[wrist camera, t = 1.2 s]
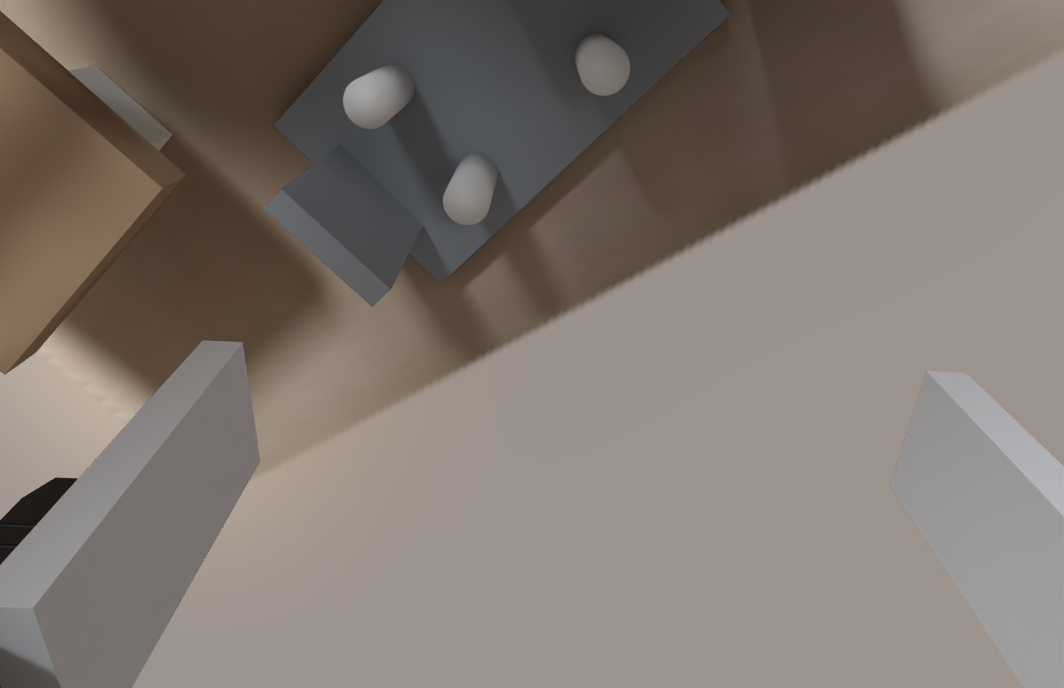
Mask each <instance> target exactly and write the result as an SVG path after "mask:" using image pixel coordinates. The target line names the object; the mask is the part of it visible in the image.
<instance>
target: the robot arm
mask: <svg viewBox="0 0 1064 688" xmlns="http://www.w3.org/2000/svg"><path fill="white" fill-rule="evenodd" d="M259 462H260V456H259V449H258V442H257V435H256V429H255V422H254V415H253V408H252V402H251V395H250V388H249V382H248V375H247V368H246V361H245V355H244V348H243V342H227V341H203V340H202V342H201V343H200V344H199V345H198V346H197V347H196V348H195V349H194V350H193V352H192V353H191V354H190V355H189V356H188V357H187V358H186V359H185V360H184V362H183V363H182V364H181V365H180V366H179V367H178V368H177V369H176V370H175V372H174V373H173V374H172V375H171V376H170V377H169V378H168V379H167V380H166V382H165V383H164V384H163V385H162V386H161V387H160V388H159V389H158V390H157V392H156V393H155V394H154V395H153V396H152V397H151V398H150V399H149V400H148V402H147V403H146V404H145V405H144V406H143V407H142V408H141V409H140V410H139V412H138V413H137V414H136V415H135V416H134V417H133V418H132V419H131V420H130V422H129V423H128V424H127V425H126V426H125V427H124V428H123V429H122V430H121V432H120V433H119V434H118V435H117V436H116V437H115V438H114V439H113V440H112V442H111V443H110V444H109V445H108V446H107V447H106V448H105V449H104V450H103V452H102V453H101V454H100V455H99V456H98V457H97V459H95V460H94V462H93V463H92V464H91V465H90V466H89V467H88V468H87V469H86V470H85V472H84V473H83V474H82V475H81V476H80V477H79V478H78V479H76V478H54V479H53V480H51V481H49V482H48V483H46V484H44V485H43V486H41V487H39V488H38V489H36V490H34V491H33V492H31V493H30V494H28V495H26V496H25V497H23V498H22V499H21V500H20V501H19V502H18V503H17V504H16V505H15V506H14V507H13V508H12V509H11V510H10V511H9V512H8V513H7V514H6V515H5V516H4V517H3V518H2V519H1V520H0V688H132V686H133V685H134V683H135V681H136V679H137V678H138V676H139V674H140V672H141V671H142V669H143V667H144V665H145V663H146V662H147V660H148V658H149V656H150V655H151V653H152V651H153V649H154V648H155V646H156V644H157V642H158V641H159V639H160V637H161V635H162V633H163V632H164V630H165V628H166V626H167V625H168V623H169V621H170V619H171V618H172V616H173V614H174V612H175V610H176V609H177V607H178V605H179V603H180V602H181V600H182V598H183V596H184V595H185V593H186V591H187V589H188V587H189V586H190V584H191V582H192V580H193V579H194V577H195V575H196V573H197V572H198V570H199V568H200V566H201V565H202V563H203V561H204V559H205V557H206V556H207V554H208V552H209V550H210V549H211V547H212V545H213V543H214V541H215V540H216V538H217V536H218V535H219V533H220V531H221V529H222V527H223V526H224V524H225V522H226V520H227V519H228V517H229V515H230V513H231V511H232V510H233V508H234V506H235V504H236V503H237V501H238V499H239V497H240V496H241V494H242V492H243V490H244V489H245V487H246V485H247V483H248V481H249V480H250V478H251V476H252V474H253V473H254V471H255V469H256V467H257V466H258V464H259ZM890 488H891V489H892V491H893V492H894V494H895V495H896V497H897V498H898V500H899V501H900V503H901V504H902V506H903V507H904V509H905V510H906V512H907V513H908V515H909V516H910V518H911V519H912V521H913V522H914V524H915V525H916V527H917V528H918V530H919V531H920V533H921V534H922V535H923V537H924V539H925V540H926V542H927V543H928V545H929V546H930V548H931V549H932V551H933V552H934V554H935V555H936V557H937V558H938V560H939V561H940V563H941V564H942V566H943V567H944V569H945V570H946V572H947V573H948V575H949V576H950V578H951V579H952V581H953V582H954V584H955V585H956V587H957V588H958V590H959V591H960V593H961V594H962V596H963V597H964V599H965V600H966V602H967V603H968V605H969V606H970V608H971V609H972V611H973V612H974V614H975V615H976V617H977V618H978V620H979V621H980V623H981V624H982V626H983V627H984V629H985V630H986V632H987V633H988V635H989V636H990V638H991V639H992V641H993V642H994V644H995V645H996V647H997V648H998V650H999V651H1000V653H1001V654H1002V656H1003V657H1004V659H1005V660H1006V662H1007V663H1008V665H1009V666H1010V668H1011V669H1012V671H1013V672H1014V674H1015V675H1016V677H1017V678H1018V680H1019V681H1020V683H1021V685H1022V686H1023V687H1024V688H1064V467H1063V466H1062V465H1061V464H1060V463H1059V462H1058V461H1057V460H1056V459H1055V458H1054V457H1053V456H1052V455H1051V454H1050V453H1049V452H1048V451H1047V450H1046V449H1045V448H1044V447H1043V446H1042V445H1040V444H1039V443H1038V442H1037V441H1036V440H1035V439H1034V438H1033V437H1032V436H1031V435H1030V434H1029V433H1028V432H1027V431H1026V430H1025V429H1024V428H1023V427H1022V426H1021V425H1020V424H1018V422H1017V421H1016V420H1015V419H1014V418H1012V417H1011V416H1010V415H1009V414H1008V413H1007V412H1006V411H1005V410H1004V409H1003V408H1002V407H1001V406H1000V405H999V404H998V403H997V402H996V401H995V400H994V399H993V398H992V397H991V396H990V395H989V394H988V393H987V392H986V391H984V390H983V389H982V388H981V387H980V386H979V385H978V384H977V383H976V382H975V381H974V380H973V379H972V378H971V377H970V376H969V375H968V374H967V373H964V372H941V371H926V373H925V376H924V380H923V383H922V386H921V389H920V392H919V395H918V398H917V402H916V405H915V408H914V411H913V414H912V417H911V420H910V424H909V427H908V430H907V433H906V436H905V439H904V442H903V446H902V449H901V452H900V455H899V458H898V461H897V465H896V468H895V471H894V474H893V477H892V480H891V483H890Z"/></svg>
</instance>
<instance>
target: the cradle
mask: <svg viewBox="0 0 1064 688" xmlns="http://www.w3.org/2000/svg"><path fill="white" fill-rule="evenodd" d="M729 15H730V13H729V11H728V10H727V9H726V7H725V6H724V5H723V4H722V2H721V1H720V0H383V2H382V3H381V4H380V5H379V6H378V7H377V8H376V9H375V11H374V12H373V13H372V14H371V15H370V16H369V17H368V19H367V20H366V21H365V22H364V23H363V24H362V25H361V27H360V28H359V29H358V30H357V31H356V32H355V33H354V35H353V36H352V37H351V38H350V39H349V40H348V41H347V42H346V44H345V45H344V46H343V47H342V48H341V49H340V50H339V52H338V53H337V54H336V55H335V56H334V57H333V58H332V60H331V61H330V62H329V63H328V64H327V65H326V66H325V68H324V69H323V70H322V71H321V72H320V73H319V74H318V75H317V77H316V78H315V79H314V80H313V81H312V82H311V83H310V85H309V86H308V87H307V88H306V89H305V90H304V91H303V93H302V94H301V95H300V96H299V97H298V98H297V99H296V101H295V102H294V103H293V104H292V105H291V106H290V107H289V109H288V110H287V111H286V112H285V113H284V114H283V115H282V116H281V118H280V119H279V120H278V121H277V122H276V123H275V124H274V127H275V128H276V129H277V130H278V131H279V132H281V133H282V134H283V135H284V136H285V137H286V138H287V139H288V140H289V141H290V142H291V143H292V144H293V145H294V146H295V147H296V148H297V149H299V150H300V151H301V152H302V153H303V154H304V155H305V156H306V157H307V158H308V159H309V160H310V161H311V162H312V163H313V164H314V165H312V166H311V167H310V168H308V169H307V170H306V171H305V172H303V173H302V174H301V175H299V176H298V177H297V178H295V179H294V180H293V181H292V182H290V183H289V184H288V185H286V186H285V187H284V188H282V189H281V190H280V191H279V192H278V193H277V195H276V196H275V197H274V198H273V199H272V200H271V201H270V202H269V203H268V204H267V205H266V207H265V208H264V210H265V211H266V212H267V213H268V214H269V215H271V216H272V217H273V218H274V219H275V220H276V221H277V222H278V223H280V224H281V225H282V226H283V227H284V228H285V229H286V230H287V231H288V232H290V233H291V234H292V235H293V236H294V237H295V238H296V239H297V240H298V241H300V242H301V243H302V244H303V245H304V246H305V247H306V248H307V249H308V250H310V251H311V252H312V253H313V254H314V255H315V256H316V257H317V258H319V259H320V260H321V261H322V262H323V263H324V264H325V265H326V266H327V267H329V268H330V269H331V270H332V271H333V272H334V273H335V274H336V275H337V276H339V277H340V278H341V279H342V280H343V281H344V282H345V283H346V284H347V285H349V286H350V287H351V288H352V289H353V290H354V291H355V292H356V293H357V294H359V295H360V296H361V297H362V298H363V299H364V300H365V301H366V302H368V303H369V304H370V305H371V306H372V307H373V306H374V305H375V304H376V303H377V302H378V301H379V300H380V299H381V298H382V297H383V296H384V295H385V294H386V293H387V292H388V291H389V290H390V289H391V288H392V286H393V284H394V282H395V280H396V278H397V276H398V274H399V272H400V270H401V268H402V266H403V264H404V262H405V260H406V258H407V257H408V255H409V254H410V255H411V256H412V257H413V258H414V259H415V260H416V261H417V262H418V263H419V264H420V265H421V266H422V267H423V268H424V269H426V270H427V271H428V272H429V273H430V274H431V275H432V276H433V277H434V278H435V279H436V280H437V281H438V282H439V283H440V284H441V283H442V282H443V281H444V280H445V279H446V278H447V277H448V276H450V275H451V274H452V273H453V272H454V271H455V270H456V269H457V268H458V267H459V266H460V265H461V264H462V263H464V262H465V261H466V260H467V259H468V258H469V257H470V256H471V255H472V254H473V253H474V252H475V251H476V250H477V249H479V248H480V247H481V246H482V245H483V244H484V243H485V242H486V241H487V240H488V239H489V238H490V237H491V236H493V235H494V234H495V233H496V232H497V231H498V230H499V229H500V228H501V227H502V226H503V225H504V224H505V223H507V222H508V221H509V220H510V219H511V218H512V217H513V216H514V215H515V214H516V213H517V212H518V211H519V210H521V209H522V208H523V207H524V206H525V205H526V204H527V203H528V202H529V201H530V200H531V199H532V198H533V197H534V196H536V195H537V194H538V193H539V192H540V191H541V190H542V189H543V188H544V187H545V186H546V185H547V184H548V183H550V182H551V181H552V180H553V179H554V178H555V177H556V176H557V175H558V174H559V173H560V172H561V171H562V170H564V169H565V168H566V167H567V166H568V165H569V164H570V163H571V162H572V161H573V160H574V159H575V158H576V157H578V156H579V155H580V154H581V153H582V152H583V151H584V150H585V149H586V148H587V147H588V146H589V145H590V144H592V143H593V142H594V141H595V140H596V139H597V138H598V137H599V136H600V135H601V134H602V133H603V132H604V131H605V130H607V129H608V128H609V127H610V126H611V125H612V124H613V123H614V122H615V121H616V120H617V119H618V118H619V117H621V116H622V115H623V114H624V113H625V112H626V111H627V110H628V109H629V108H630V107H631V106H632V105H633V104H635V103H636V102H637V101H638V100H639V99H640V98H641V97H642V96H643V95H644V94H645V93H646V92H647V91H649V90H650V89H651V88H652V87H653V86H654V85H655V84H656V83H657V82H658V81H659V80H660V79H661V78H662V77H664V76H665V75H666V74H667V73H668V72H669V71H670V70H671V69H672V68H673V67H674V66H675V65H676V64H678V63H679V62H680V61H681V60H682V59H683V58H684V57H685V56H686V55H687V54H688V53H689V52H690V51H692V50H693V49H694V48H695V47H696V46H697V45H698V44H699V43H700V42H701V41H702V40H703V39H704V38H706V37H707V36H708V35H709V34H710V33H711V32H712V31H713V30H714V29H715V28H716V27H717V26H718V25H719V24H721V23H722V22H723V21H724V20H725V19H726V18H727V17H728V16H729Z"/></svg>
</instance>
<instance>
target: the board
mask: <svg viewBox="0 0 1064 688" xmlns="http://www.w3.org/2000/svg"><path fill="white" fill-rule="evenodd" d="M186 176H187V175H186V174H185V173H184V172H183V171H181V170H180V169H179V168H178V167H177V166H176V165H175V164H173V163H172V162H171V161H170V160H169V159H168V158H167V157H165V156H164V155H163V154H162V153H161V152H160V151H159V150H158V149H156V148H155V147H154V146H153V145H152V144H151V143H150V142H148V141H147V140H146V139H145V138H144V137H143V136H142V135H141V134H139V133H138V132H137V131H136V130H135V129H134V128H133V127H131V126H130V125H129V124H128V123H127V122H126V121H125V120H123V119H122V118H121V117H120V116H119V115H118V114H117V113H116V112H114V111H113V110H112V109H111V108H110V107H109V106H108V105H106V104H105V103H104V102H103V101H102V100H101V99H100V98H98V97H97V96H96V95H95V94H94V93H93V92H92V91H91V90H89V89H88V88H87V87H86V86H85V85H84V84H83V83H81V82H80V81H79V80H78V79H77V78H76V77H75V76H74V75H72V74H71V73H70V72H69V71H68V70H67V69H66V68H64V67H63V66H62V65H61V64H60V63H59V62H58V61H56V60H55V59H54V58H53V57H52V56H51V55H50V54H49V53H47V52H46V51H45V50H44V49H43V48H42V47H41V46H39V45H38V44H37V43H36V42H35V41H34V40H33V39H32V38H30V37H29V36H28V35H27V34H26V33H25V32H24V31H22V30H21V29H20V28H19V27H18V26H17V25H16V24H14V23H13V22H12V21H11V20H10V19H9V18H8V17H7V16H5V15H4V14H3V13H2V12H1V11H0V371H1V372H2V373H4V374H7V373H8V372H9V371H11V370H12V369H14V368H15V367H16V366H18V365H19V364H21V363H22V362H23V361H25V360H26V359H27V358H29V357H30V356H32V355H33V354H34V353H36V352H37V350H38V349H39V348H40V347H41V346H42V345H43V343H44V342H45V341H46V340H47V339H48V338H49V336H50V335H51V334H52V333H53V332H54V331H55V329H56V328H57V327H58V326H59V325H60V324H61V322H62V321H63V320H64V319H65V318H66V316H67V315H68V314H69V313H70V312H71V311H72V309H73V308H74V307H75V306H76V305H77V304H78V302H79V301H80V300H81V299H82V298H83V297H84V295H85V294H86V293H87V292H88V291H89V290H90V288H91V287H92V286H93V285H94V284H95V282H96V281H97V280H98V279H99V278H100V277H101V275H102V274H103V273H104V272H105V271H106V270H107V268H108V267H109V266H110V265H111V264H112V263H113V261H114V260H115V259H116V258H117V257H118V256H119V254H120V253H121V252H122V251H123V250H124V248H125V247H126V246H127V245H128V244H129V243H130V241H131V240H132V239H133V238H134V237H135V236H136V234H137V233H138V232H139V231H140V230H141V229H142V227H143V226H144V225H145V224H146V223H147V222H148V220H149V219H150V218H151V217H152V216H153V214H154V213H155V212H156V211H157V210H158V209H159V207H160V206H161V205H162V204H163V203H164V202H165V200H166V199H167V198H168V197H169V196H170V195H171V193H172V192H173V191H174V190H175V189H176V187H177V186H178V185H179V184H180V183H181V182H182V180H183V179H184V178H185V177H186Z"/></svg>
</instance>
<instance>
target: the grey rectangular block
mask: <svg viewBox="0 0 1064 688" xmlns="http://www.w3.org/2000/svg"><path fill="white" fill-rule="evenodd" d="M69 72H70V73H71V74H72V75H74V76H75V77H76V78H77V79H78V80H79V81H80V82H81V83H83V84H84V85H85V86H86V87H87V88H88V89H89V90H91V91H92V92H93V93H94V94H95V95H96V96H97V97H98V98H100V99H101V100H102V101H103V102H104V103H105V104H106V105H108V106H109V107H110V108H111V109H112V110H113V111H114V112H116V113H117V114H118V115H119V116H120V117H121V118H122V119H123V120H125V121H126V122H127V123H128V124H129V125H130V126H131V127H133V128H134V129H135V130H136V131H137V132H138V133H139V134H141V135H142V136H143V137H144V138H145V139H146V140H147V141H148V142H150V143H151V144H152V145H153V146H154V147H155V148H156V149H158V150H159V151H160V150H161V148H162V147H163V146H164V145H165V144H166V142H167V141H168V140H169V139H170V138H171V136H172V134H171V133H170V132H169V131H168V130H167V129H166V128H165V127H164V126H162V125H161V124H160V123H159V122H158V121H157V120H156V119H155V118H153V117H152V116H151V115H150V114H149V113H148V112H147V111H146V110H145V109H143V108H142V107H141V106H140V105H139V104H138V103H137V102H136V101H134V100H133V99H132V98H131V97H130V96H129V95H128V94H127V93H126V92H124V91H123V90H122V89H121V88H120V87H119V86H118V85H117V84H115V83H114V82H113V81H112V80H111V79H110V78H109V77H108V76H107V75H105V74H104V73H103V72H102V71H101V70H100V69H99V68H98V67H96V66H94V67H88V68H83V69H77V70H72V71H69Z"/></svg>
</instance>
